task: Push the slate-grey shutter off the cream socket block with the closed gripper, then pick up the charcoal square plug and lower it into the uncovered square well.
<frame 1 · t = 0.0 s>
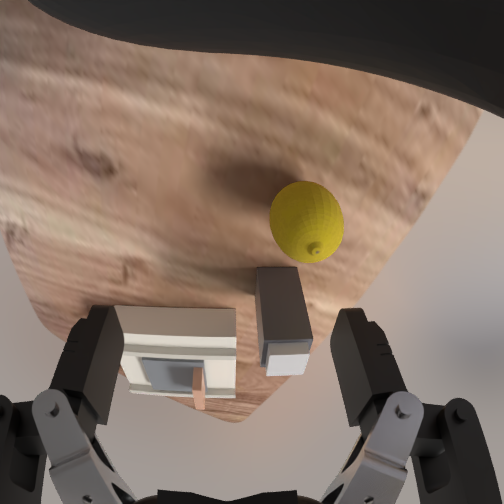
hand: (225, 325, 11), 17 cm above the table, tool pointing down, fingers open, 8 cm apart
lemon: (297, 194, 28), on the table
socket: (179, 344, 39), on the table
plug: (275, 282, 33), on the table
shutter: (175, 386, 34), point 6 cm above the table, slide at 0.0 cm
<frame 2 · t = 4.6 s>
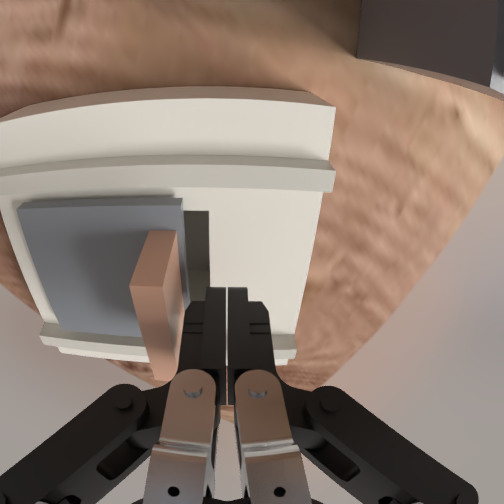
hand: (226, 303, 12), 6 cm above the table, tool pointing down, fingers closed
socket: (161, 221, 17), on the table
plug: (398, 29, 11), on the table
shutter: (97, 301, 12), point 6 cm above the table, slide at 1.6 cm, touching gripper
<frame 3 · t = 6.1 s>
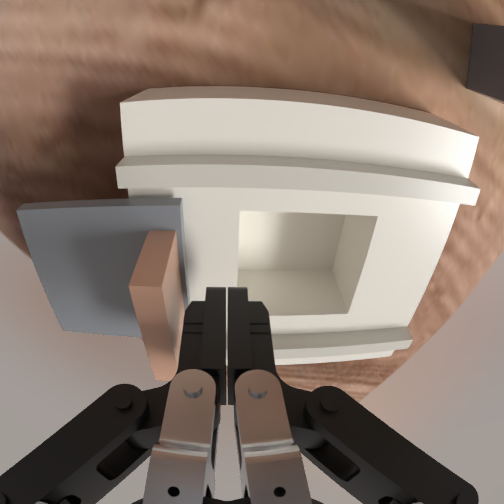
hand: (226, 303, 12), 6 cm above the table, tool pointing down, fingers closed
socket: (289, 223, 17), on the table
plug: (493, 66, 12), on the table
shutter: (97, 301, 12), point 6 cm above the table, slide at 8.4 cm, touching gripper
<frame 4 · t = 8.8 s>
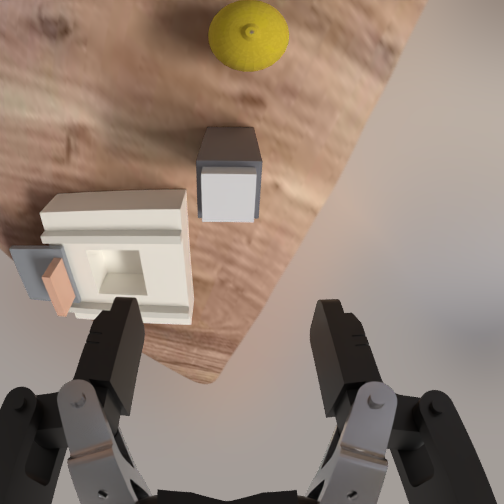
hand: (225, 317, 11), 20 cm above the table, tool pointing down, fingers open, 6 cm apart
lemon: (246, 38, 22), on the table
socket: (126, 250, 33), on the table
plug: (229, 148, 28), on the table
shutter: (39, 284, 27), point 6 cm above the table, slide at 8.5 cm
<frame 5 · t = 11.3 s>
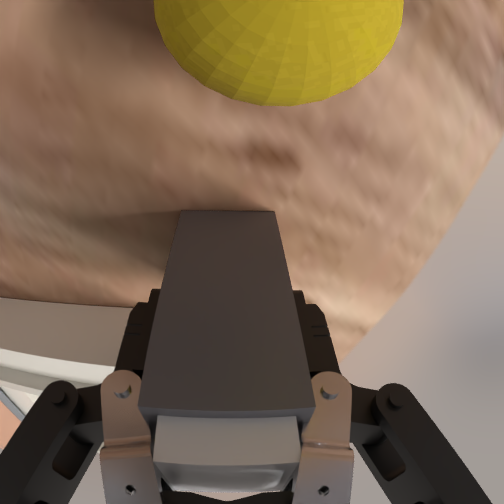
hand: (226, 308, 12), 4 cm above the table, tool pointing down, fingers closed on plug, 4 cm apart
lemon: (260, 18, 9), on the table
socket: (81, 369, 20), on the table
plug: (227, 249, 15), on the table, touching gripper
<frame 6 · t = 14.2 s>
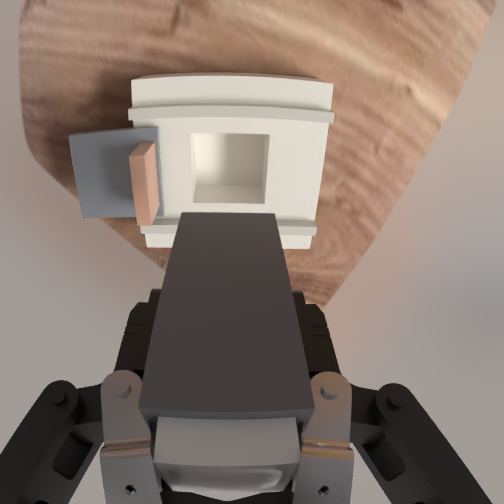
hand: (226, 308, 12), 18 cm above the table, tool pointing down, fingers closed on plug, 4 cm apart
socket: (229, 153, 27), on the table
plug: (227, 250, 15), point 14 cm above the table, touching gripper
shutter: (109, 182, 21), point 6 cm above the table, slide at 8.5 cm
when the fingers open (5 cm above the table, at t = 17.4 s): plug stays where it is, resting on socket.
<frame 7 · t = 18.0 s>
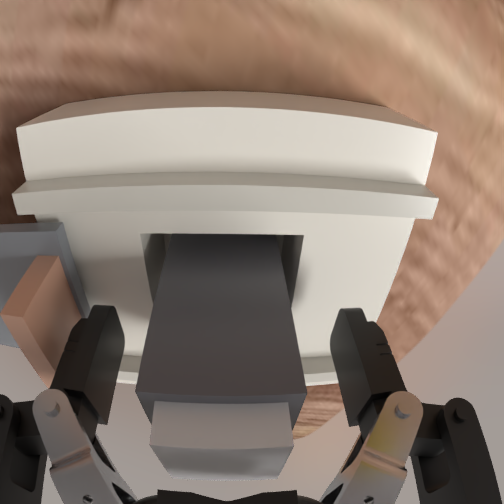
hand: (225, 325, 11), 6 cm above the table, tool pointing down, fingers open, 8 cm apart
socket: (223, 238, 16), on the table
plug: (224, 245, 15), resting on socket
shutter: (5, 321, 10), point 6 cm above the table, slide at 9.0 cm, touching gripper
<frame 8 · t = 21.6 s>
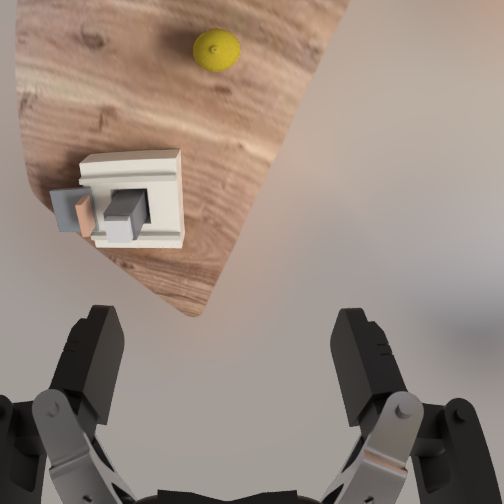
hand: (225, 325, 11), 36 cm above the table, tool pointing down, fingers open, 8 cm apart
lemon: (218, 50, 35), on the table
socket: (137, 194, 46), on the table
plug: (137, 196, 46), resting on socket
shutter: (70, 215, 41), point 6 cm above the table, slide at 9.0 cm
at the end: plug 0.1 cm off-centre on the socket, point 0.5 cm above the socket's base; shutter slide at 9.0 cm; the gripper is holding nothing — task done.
